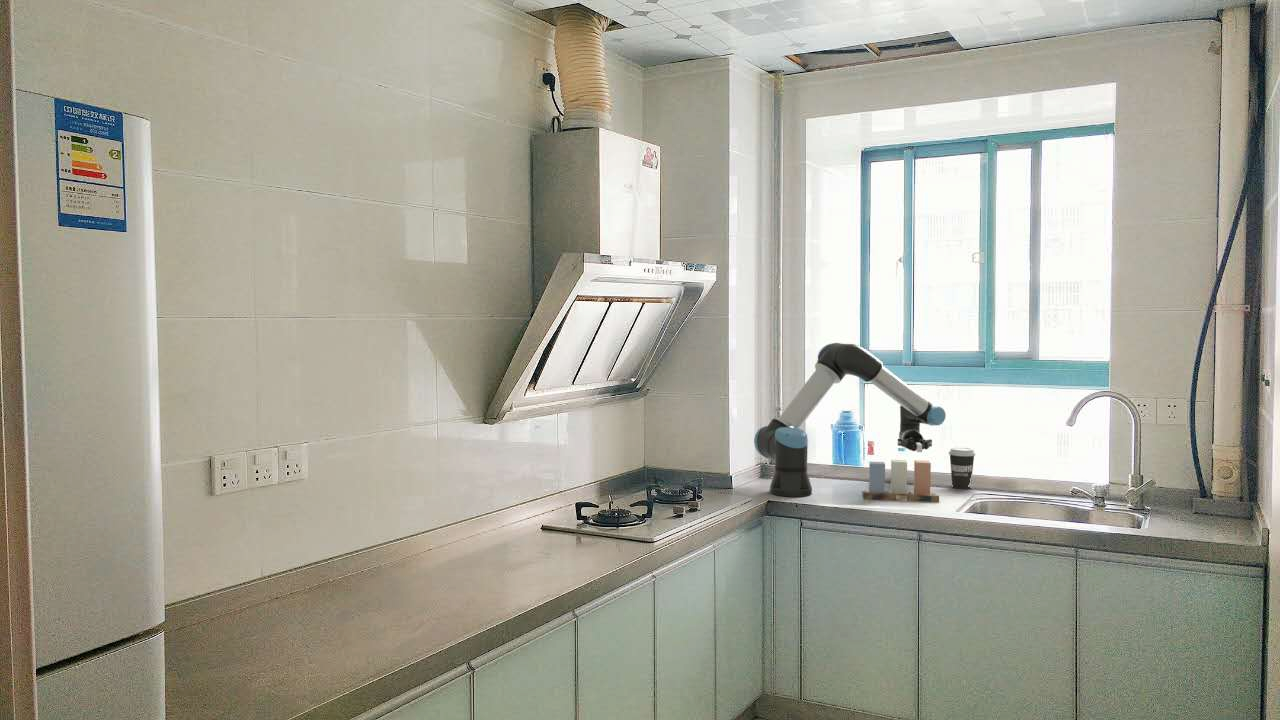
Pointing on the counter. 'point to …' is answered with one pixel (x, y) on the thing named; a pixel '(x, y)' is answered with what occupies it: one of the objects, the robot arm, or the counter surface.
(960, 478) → the coffee cup
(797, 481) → the robot arm
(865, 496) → the brown wooden flat board
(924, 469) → the brown tall block
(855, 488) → the counter surface
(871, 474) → the blue-grey tall block
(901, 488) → the key
